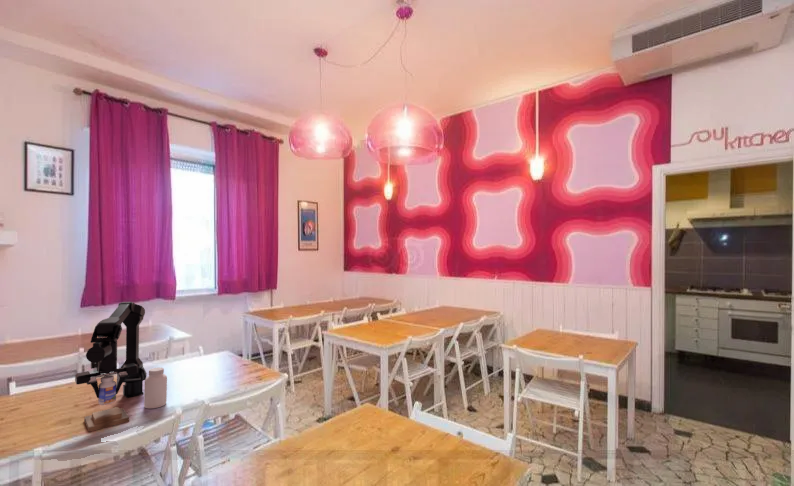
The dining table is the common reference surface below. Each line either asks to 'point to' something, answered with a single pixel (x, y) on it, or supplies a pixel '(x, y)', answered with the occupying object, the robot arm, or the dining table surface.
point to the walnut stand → (106, 418)
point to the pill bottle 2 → (155, 388)
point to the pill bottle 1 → (107, 390)
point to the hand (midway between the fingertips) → (107, 395)
